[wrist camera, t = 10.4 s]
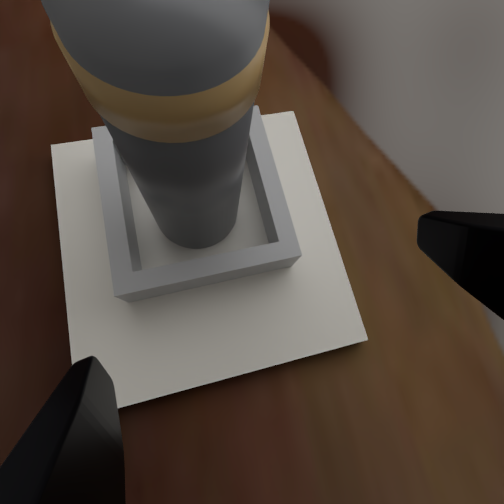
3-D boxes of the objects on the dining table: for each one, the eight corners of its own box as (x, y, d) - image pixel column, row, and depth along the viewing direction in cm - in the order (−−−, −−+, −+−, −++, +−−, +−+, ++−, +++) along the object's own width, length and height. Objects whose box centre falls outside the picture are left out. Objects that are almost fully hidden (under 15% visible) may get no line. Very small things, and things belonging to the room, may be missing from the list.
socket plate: (360, 340, 19) (390, 339, 16) (85, 414, 17) (52, 432, 13) (290, 120, 23) (302, 83, 20) (58, 154, 21) (27, 117, 17)
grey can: (228, 259, 19) (247, 102, 6) (141, 238, 19) (-11, 35, 6) (247, 183, 20) (292, -66, 8) (167, 163, 20) (85, -124, 8)
